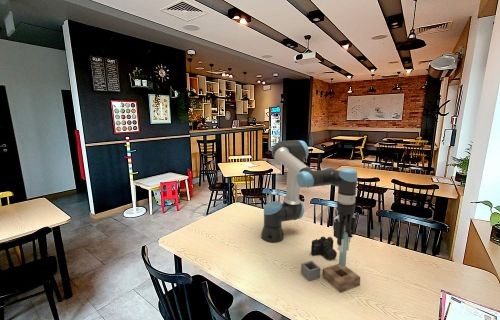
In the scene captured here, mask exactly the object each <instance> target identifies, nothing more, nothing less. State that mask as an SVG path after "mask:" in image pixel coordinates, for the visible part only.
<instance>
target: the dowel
mask: <svg viewBox="0 0 500 320" xmlns="http://www.w3.org/2000/svg"><path fill="white" fill-rule="evenodd" d="M347 238H348V232H346V231H345V230H344V232H343V239H344V243H343V252H340V251H339V256H338V257H339V258H338V264H340V265H341V266H346V264H347V254H348V253H347V252H348V251H347Z"/></svg>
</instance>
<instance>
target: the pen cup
mask: <svg viewBox="0 0 500 320" xmlns="http://www.w3.org/2000/svg"><path fill="white" fill-rule="evenodd" d="M300 274H301V275H302V276H303V277H304V278H305V279H306V280H307V281H308V282H311V281H314V280H317V279H320V278H321V267H320V266H319V265H318V264H316V263H315V262H314V261H313V260H309V261H306V262H304V263H301V264H300Z"/></svg>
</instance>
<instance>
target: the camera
mask: <svg viewBox="0 0 500 320" xmlns="http://www.w3.org/2000/svg"><path fill="white" fill-rule="evenodd" d="M310 246H311V248H310V249H311V250H310V251H311V252H310V255H312V257H315V256H318V255H319V256H320V255H321V256H323V257H325V258H326V259H327V260H329V261H333V260H335V259H336V257H337V255H338V254H337V253H338V252H337V251H336V249H334V239H333V237H332V236H328V237H325V236H321V237H320V238H316V239H313V240H312V241H311V245H310Z"/></svg>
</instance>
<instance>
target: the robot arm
mask: <svg viewBox="0 0 500 320" xmlns="http://www.w3.org/2000/svg"><path fill="white" fill-rule="evenodd" d="M309 153H310V152H309V147H308V145H307V143H306V142H305V140H298V139H297V140H296V139H294V140H280V141H278V142H276V143H275V144H274V145H273V147H272V149H271V154H272V155H271V156H272V158H273V159H274V160H275V161H276V162H277V163H280V164H282V165H283V166H284V167H285V168H286V169H287V173H286V189H285V190H286V191H285V197H284V198H283V202H280V201H278V200H277V201H275V200H274V201H273V200H272V201H270V202H267V203H266V204H265V205H264V207H263V208H264V209H263V227H262V230H261V232H260V233H261V234H260V235H261V236H260V237H261V239H262V240H263V241H265V242H266V243H279V242H282V241H283V240H284V238H285V235H284V234H285V233H284V229H283V227H282V224H283V223H282V222H289V221H296V220H300V219H302V218H303V216H304V213H305V208H304V204H303V202H302V201H301V199H300V191H301V189H300V188H306V189H307V188H314V187H315V188H316V187H322V186H323V187H324V186H335V187H337V202H336V203H337V204H336V209H337V215H336V216H335V217H334V216H333V217H332V221H333V237H334V238H336V245H337V251H339V253H340V252H343V243H344V239H343V232H344V231H346V232H348V238H347V252H348V251H350V242H351V239H352V238H353V237H354V235H355V232H356V225H357V219H358V216H359V215H358V214H356V213H354V212H355V210H356V204H355V203H356V197H357V195H356V194H357V185H358V184H357V183H358V171H357V170H356V169H355V168H352V167H351V168H349V167H343V168H342V167H341V168H339V170H338V169H335V168H333V167H325V168H323V169H318V170H316V169H315V170H314V169H312V168H310V167H309V166H308V165H306V164H305V163H304V162H305V159H307V158H308V156H309Z"/></svg>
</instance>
